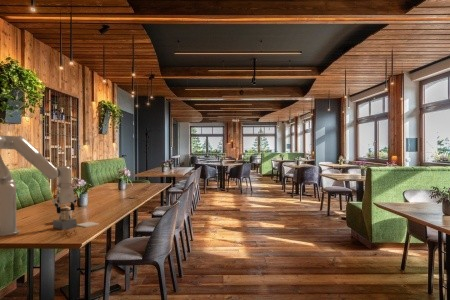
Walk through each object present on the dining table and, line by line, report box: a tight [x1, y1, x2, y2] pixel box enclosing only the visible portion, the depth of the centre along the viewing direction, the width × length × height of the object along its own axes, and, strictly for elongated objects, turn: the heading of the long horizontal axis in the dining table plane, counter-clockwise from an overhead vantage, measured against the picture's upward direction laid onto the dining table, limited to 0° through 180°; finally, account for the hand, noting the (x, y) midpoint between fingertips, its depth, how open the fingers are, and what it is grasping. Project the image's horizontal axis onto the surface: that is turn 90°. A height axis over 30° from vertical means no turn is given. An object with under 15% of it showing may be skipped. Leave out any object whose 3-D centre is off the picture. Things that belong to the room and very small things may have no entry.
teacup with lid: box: [58, 204, 78, 219], centre depth 249 cm, size 12×9×12 cm
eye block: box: [52, 218, 78, 231], centre depth 231 cm, size 10×10×5 cm
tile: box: [77, 221, 100, 228], centre depth 237 cm, size 10×10×1 cm
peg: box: [61, 208, 69, 221], centre depth 231 cm, size 5×5×12 cm
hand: (65, 211), depth 231 cm, fingers open, 9 cm apart
